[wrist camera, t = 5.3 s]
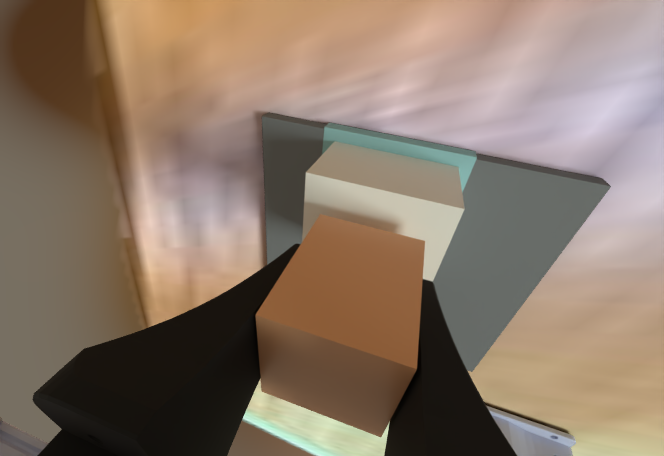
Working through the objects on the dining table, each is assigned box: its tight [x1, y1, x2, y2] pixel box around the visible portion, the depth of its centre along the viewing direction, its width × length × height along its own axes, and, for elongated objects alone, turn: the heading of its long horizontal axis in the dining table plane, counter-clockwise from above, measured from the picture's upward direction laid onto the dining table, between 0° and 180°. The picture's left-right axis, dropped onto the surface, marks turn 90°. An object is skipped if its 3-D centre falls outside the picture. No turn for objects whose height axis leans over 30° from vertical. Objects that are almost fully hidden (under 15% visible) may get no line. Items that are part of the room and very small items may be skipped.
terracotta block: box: [255, 214, 425, 437], centre depth 10 cm, size 4×4×5 cm
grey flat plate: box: [262, 113, 611, 372], centre depth 18 cm, size 16×15×1 cm
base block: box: [302, 141, 465, 282], centre depth 14 cm, size 6×6×4 cm
